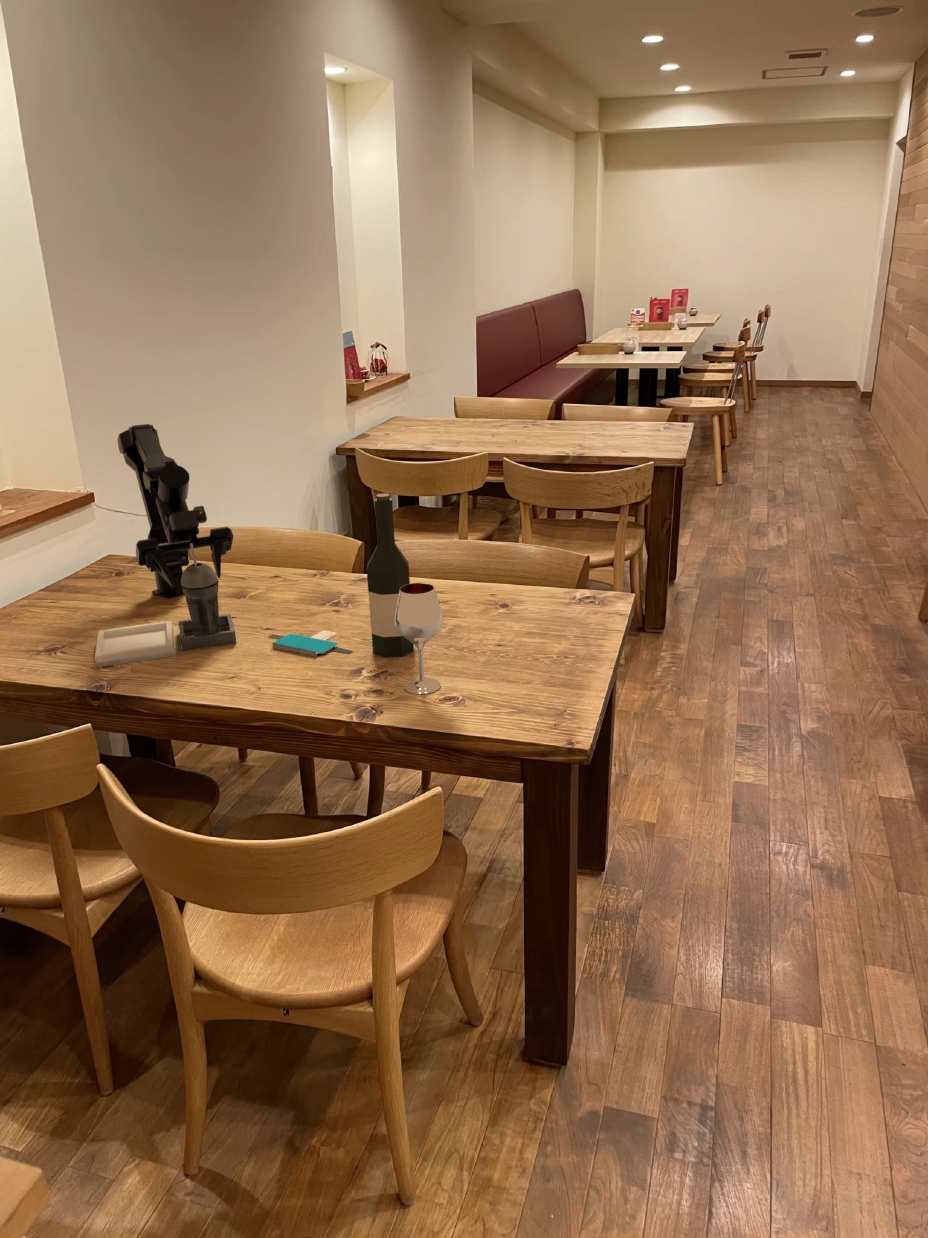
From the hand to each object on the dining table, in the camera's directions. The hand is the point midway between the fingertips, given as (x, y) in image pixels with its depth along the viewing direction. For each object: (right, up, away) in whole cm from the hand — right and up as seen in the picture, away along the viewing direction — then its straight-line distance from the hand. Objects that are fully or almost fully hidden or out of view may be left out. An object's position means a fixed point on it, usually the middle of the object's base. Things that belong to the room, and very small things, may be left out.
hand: (196, 581), depth 178 cm
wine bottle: (+40, -13, -7) cm, 43 cm away
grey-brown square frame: (+2, -11, +2) cm, 12 cm away
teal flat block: (+23, -13, -2) cm, 27 cm away
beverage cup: (+2, -11, +2) cm, 12 cm away
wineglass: (+46, -19, -23) cm, 55 cm away
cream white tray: (-11, -13, -2) cm, 17 cm away
